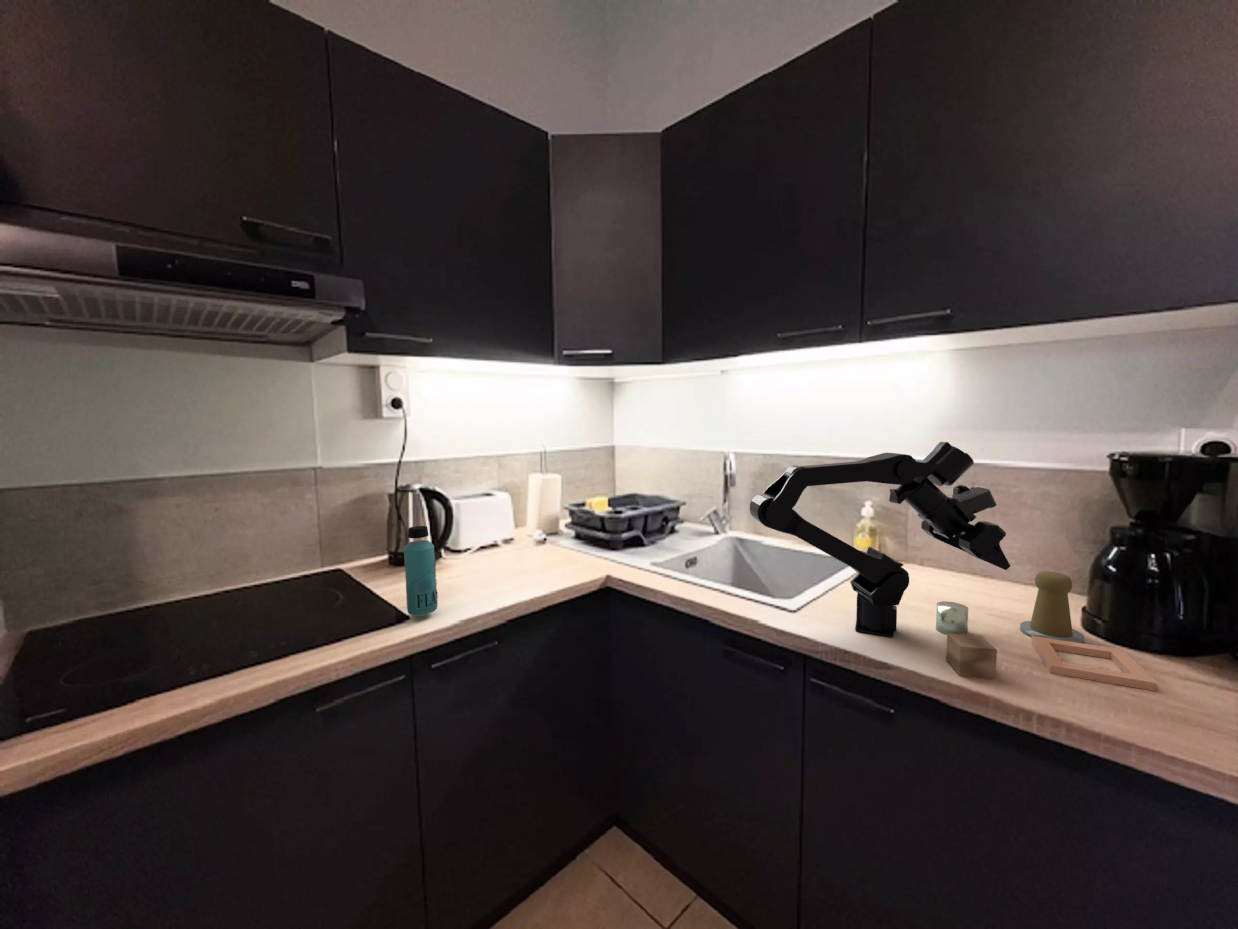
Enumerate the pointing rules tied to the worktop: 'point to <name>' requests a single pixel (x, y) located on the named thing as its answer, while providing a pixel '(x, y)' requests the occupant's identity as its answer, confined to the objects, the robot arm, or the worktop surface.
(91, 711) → the worktop surface
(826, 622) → the worktop surface
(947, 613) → the sage tin
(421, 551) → the beverage bottle
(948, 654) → the walnut block
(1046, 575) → the olive pepper mill
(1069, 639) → the slate coaster
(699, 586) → the worktop surface
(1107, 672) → the hole frame
